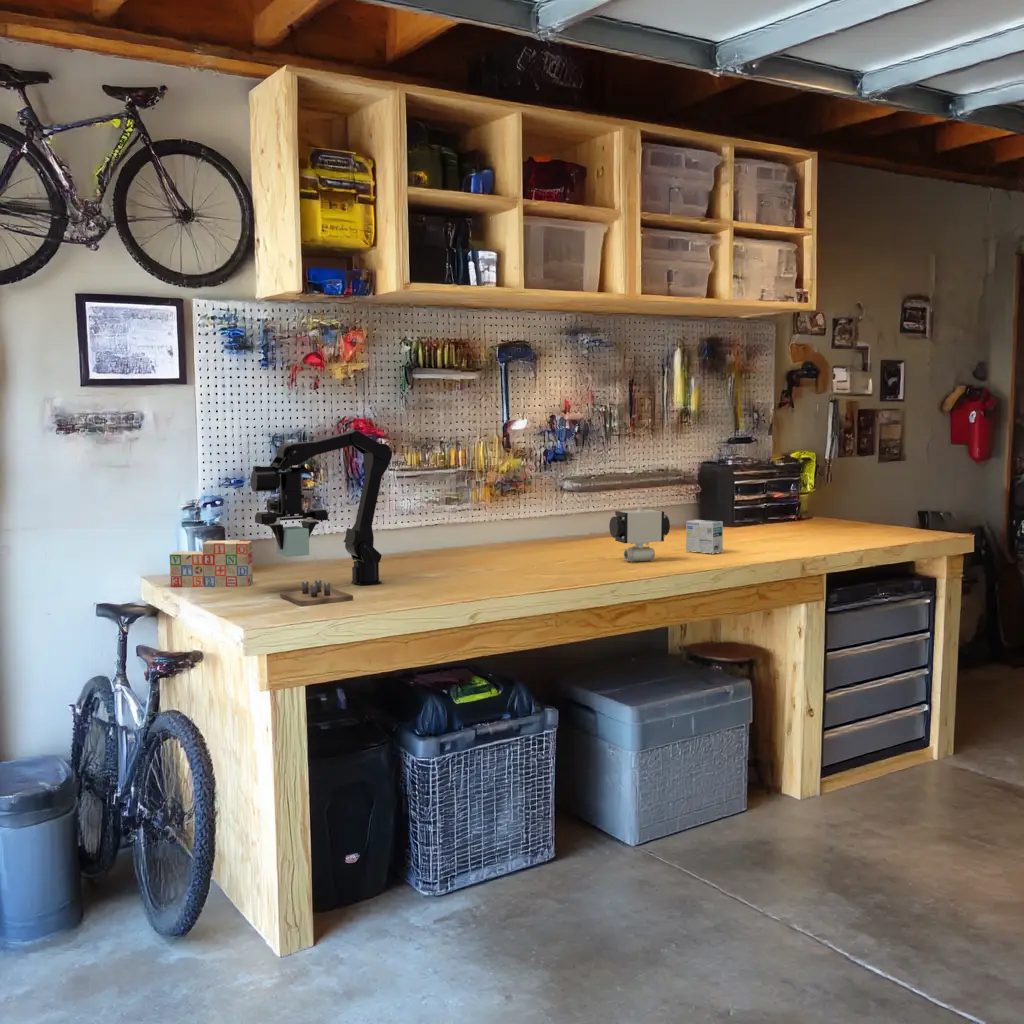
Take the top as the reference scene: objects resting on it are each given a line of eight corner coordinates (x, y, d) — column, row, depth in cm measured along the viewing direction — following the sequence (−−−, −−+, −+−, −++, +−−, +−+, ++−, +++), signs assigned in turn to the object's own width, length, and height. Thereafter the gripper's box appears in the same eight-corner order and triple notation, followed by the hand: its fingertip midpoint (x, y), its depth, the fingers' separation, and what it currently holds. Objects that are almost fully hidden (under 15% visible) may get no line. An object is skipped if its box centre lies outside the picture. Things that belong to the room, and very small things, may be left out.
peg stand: (330, 592, 270) (330, 576, 270) (353, 600, 259) (352, 583, 258) (280, 597, 263) (279, 581, 262) (301, 606, 251) (300, 589, 251)
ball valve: (657, 557, 330) (658, 503, 328) (669, 561, 322) (670, 505, 320) (607, 560, 324) (607, 505, 322) (618, 564, 316) (618, 507, 314)
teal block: (297, 551, 277) (297, 526, 276) (309, 555, 270) (308, 528, 270) (276, 553, 274) (276, 527, 273) (287, 556, 267) (287, 530, 266)
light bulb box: (723, 552, 341) (723, 521, 340) (713, 555, 336) (713, 522, 335) (695, 550, 348) (695, 518, 347) (685, 552, 343) (685, 520, 342)
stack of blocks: (170, 587, 279) (168, 543, 277) (176, 583, 285) (175, 540, 284) (248, 587, 280) (247, 542, 278) (253, 583, 286) (252, 539, 284)
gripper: (312, 487, 282) (313, 542, 284) (246, 490, 272) (248, 547, 273) (328, 489, 273) (329, 547, 275) (261, 492, 263) (263, 552, 264)
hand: (292, 548), depth 272 cm, fingers closed on teal block, 6 cm apart
